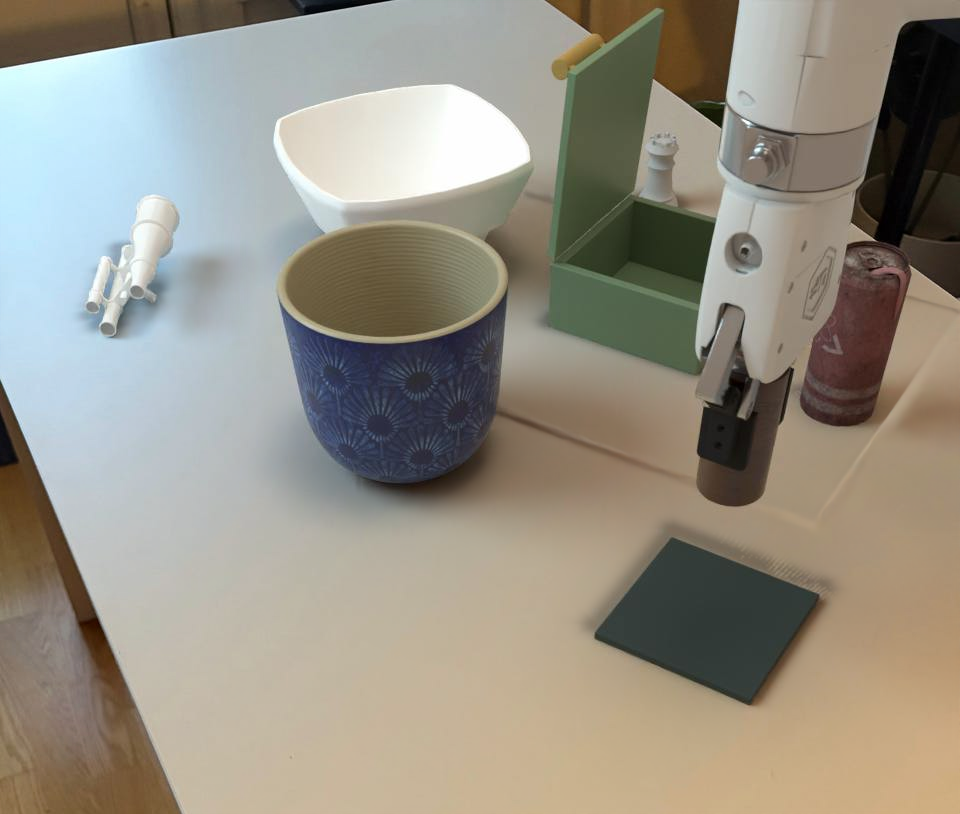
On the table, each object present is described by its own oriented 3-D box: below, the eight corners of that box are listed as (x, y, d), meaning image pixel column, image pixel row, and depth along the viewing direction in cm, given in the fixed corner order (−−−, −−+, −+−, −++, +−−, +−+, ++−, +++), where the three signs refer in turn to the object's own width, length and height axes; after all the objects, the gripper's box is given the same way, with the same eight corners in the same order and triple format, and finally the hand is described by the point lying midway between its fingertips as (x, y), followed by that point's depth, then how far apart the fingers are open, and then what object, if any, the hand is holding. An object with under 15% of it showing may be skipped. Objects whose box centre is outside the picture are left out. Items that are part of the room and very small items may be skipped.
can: (849, 445, 100) (891, 288, 89) (784, 414, 103) (817, 258, 92) (887, 412, 103) (933, 256, 92) (823, 383, 106) (860, 228, 95)
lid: (665, 9, 101) (616, -7, 102) (576, 74, 93) (525, 56, 94) (634, 190, 113) (591, 174, 114) (554, 260, 105) (509, 242, 107)
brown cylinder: (775, 478, 79) (803, 355, 72) (747, 515, 76) (772, 392, 69) (714, 455, 80) (734, 333, 73) (684, 492, 78) (702, 369, 71)
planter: (363, 542, 93) (344, 368, 81) (267, 429, 102) (237, 258, 91) (547, 466, 99) (553, 293, 87) (440, 366, 108) (433, 198, 96)
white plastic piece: (129, 354, 113) (78, 319, 110) (150, 275, 122) (102, 241, 119) (177, 295, 109) (124, 258, 106) (194, 219, 118) (146, 182, 115)
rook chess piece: (625, 220, 124) (632, 140, 118) (647, 202, 127) (654, 123, 120) (663, 232, 123) (672, 152, 116) (685, 214, 125) (694, 134, 119)
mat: (818, 600, 88) (820, 594, 88) (749, 705, 82) (751, 699, 82) (670, 542, 93) (671, 536, 92) (593, 638, 86) (594, 632, 86)
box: (764, 305, 114) (777, 235, 108) (694, 384, 106) (704, 312, 101) (624, 263, 119) (630, 193, 114) (547, 335, 111) (550, 264, 106)
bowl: (340, 342, 111) (326, 219, 102) (266, 232, 124) (248, 114, 115) (558, 287, 116) (563, 165, 107) (465, 187, 129) (463, 71, 120)
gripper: (798, 230, 56) (737, 537, 70) (924, 95, 65) (848, 390, 79) (651, 189, 58) (621, 493, 72) (793, 64, 67) (741, 356, 81)
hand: (740, 437), depth 75 cm, fingers closed on brown cylinder, 4 cm apart
